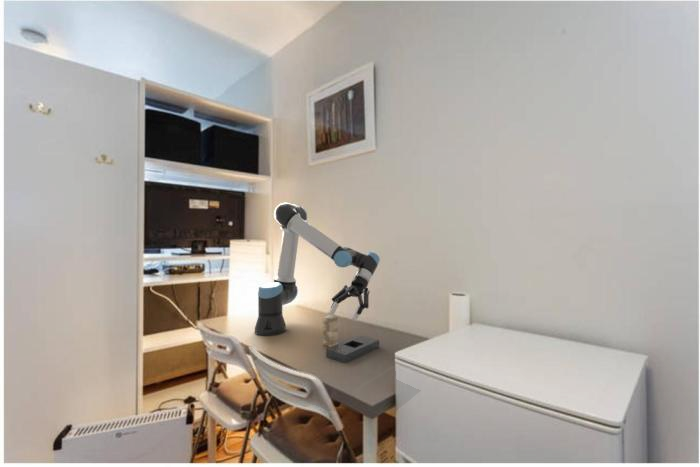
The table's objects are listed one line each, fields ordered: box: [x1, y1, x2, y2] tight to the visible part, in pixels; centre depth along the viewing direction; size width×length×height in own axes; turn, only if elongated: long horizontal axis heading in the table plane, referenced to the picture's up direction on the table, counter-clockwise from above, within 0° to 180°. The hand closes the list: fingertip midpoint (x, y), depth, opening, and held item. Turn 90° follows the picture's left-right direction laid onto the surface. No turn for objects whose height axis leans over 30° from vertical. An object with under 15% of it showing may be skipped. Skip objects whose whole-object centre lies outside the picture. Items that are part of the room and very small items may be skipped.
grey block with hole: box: [325, 335, 380, 364], centre depth 128 cm, size 10×22×3 cm, turn 141°
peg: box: [322, 314, 339, 348], centre depth 137 cm, size 4×4×12 cm
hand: (341, 317), depth 141 cm, fingers open, 13 cm apart
